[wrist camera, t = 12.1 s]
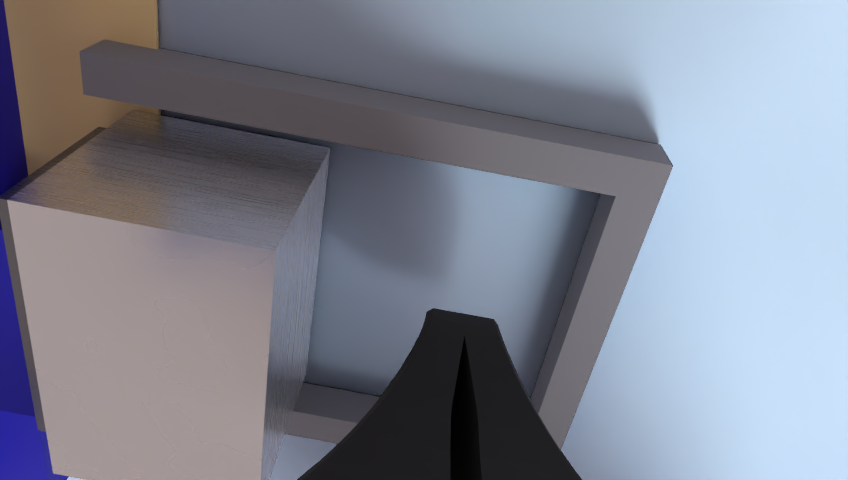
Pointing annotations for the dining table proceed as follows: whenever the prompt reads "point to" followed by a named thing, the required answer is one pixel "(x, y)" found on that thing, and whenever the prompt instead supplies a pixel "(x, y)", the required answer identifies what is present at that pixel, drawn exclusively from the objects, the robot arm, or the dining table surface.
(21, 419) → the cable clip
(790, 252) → the dining table surface
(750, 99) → the dining table surface
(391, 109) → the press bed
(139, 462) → the block
